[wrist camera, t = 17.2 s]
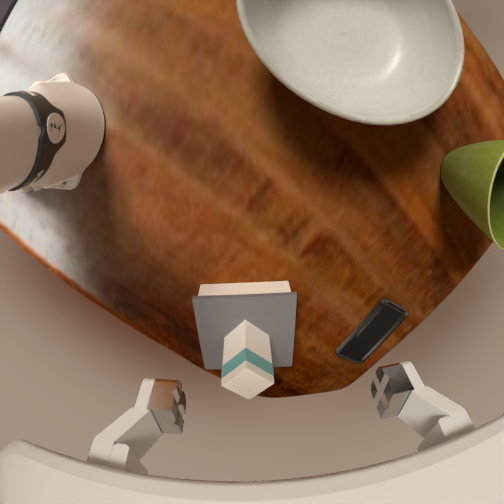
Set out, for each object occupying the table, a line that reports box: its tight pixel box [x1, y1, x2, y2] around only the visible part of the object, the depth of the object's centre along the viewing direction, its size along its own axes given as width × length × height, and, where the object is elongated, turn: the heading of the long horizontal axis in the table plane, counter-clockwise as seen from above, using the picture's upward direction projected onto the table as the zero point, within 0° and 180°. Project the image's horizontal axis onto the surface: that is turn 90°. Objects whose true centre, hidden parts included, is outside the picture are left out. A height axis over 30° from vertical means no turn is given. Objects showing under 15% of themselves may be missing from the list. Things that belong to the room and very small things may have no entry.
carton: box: [221, 320, 274, 399], centre depth 41 cm, size 5×5×10 cm
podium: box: [192, 281, 297, 369], centre depth 48 cm, size 15×15×5 cm
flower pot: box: [441, 140, 504, 250], centre depth 32 cm, size 15×15×16 cm
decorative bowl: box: [236, 0, 464, 125], centre depth 26 cm, size 27×27×12 cm
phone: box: [336, 298, 408, 364], centre depth 53 cm, size 8×1×15 cm
